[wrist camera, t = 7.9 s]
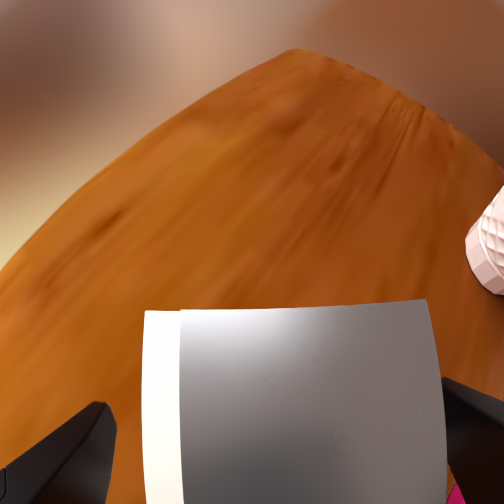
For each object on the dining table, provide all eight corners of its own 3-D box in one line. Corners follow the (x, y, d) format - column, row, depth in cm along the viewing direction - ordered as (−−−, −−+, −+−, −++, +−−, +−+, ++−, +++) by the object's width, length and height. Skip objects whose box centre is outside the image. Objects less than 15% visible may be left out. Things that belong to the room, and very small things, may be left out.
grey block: (363, 439, 14) (561, 437, 3) (220, 454, 14) (190, 566, 2) (358, 374, 16) (538, 283, 5) (217, 384, 16) (180, 309, 4)
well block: (416, 476, 13) (439, 481, 11) (159, 508, 12) (148, 521, 10) (399, 313, 18) (418, 300, 16) (155, 324, 17) (145, 310, 15)
